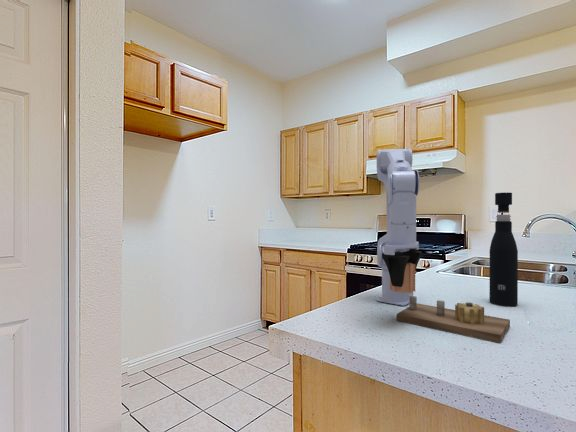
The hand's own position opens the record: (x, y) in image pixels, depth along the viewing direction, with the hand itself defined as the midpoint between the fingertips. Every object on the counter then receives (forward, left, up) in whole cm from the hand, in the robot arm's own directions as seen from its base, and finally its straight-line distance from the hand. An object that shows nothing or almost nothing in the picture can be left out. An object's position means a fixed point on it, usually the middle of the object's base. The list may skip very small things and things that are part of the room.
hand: (402, 284), depth 74 cm
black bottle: (-32, +15, -9) cm, 37 cm away
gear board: (-5, +9, -8) cm, 13 cm away
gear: (0, 0, -1) cm, 1 cm away
